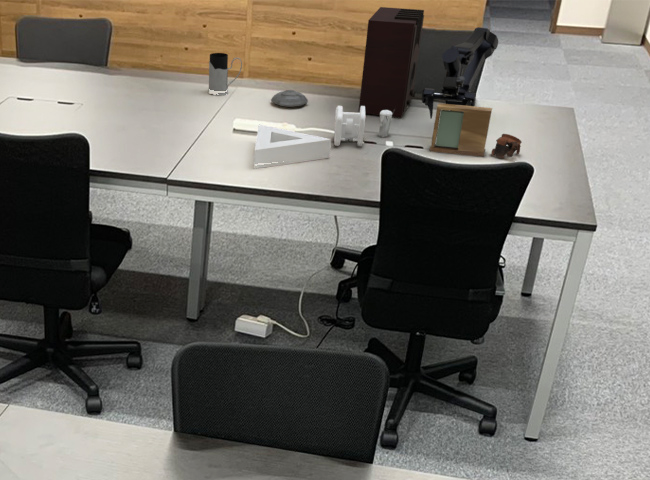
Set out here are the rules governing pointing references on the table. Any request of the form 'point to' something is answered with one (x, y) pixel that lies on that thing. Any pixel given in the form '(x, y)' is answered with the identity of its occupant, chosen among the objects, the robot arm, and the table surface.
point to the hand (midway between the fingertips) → (443, 119)
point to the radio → (391, 60)
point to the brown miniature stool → (503, 149)
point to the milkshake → (385, 122)
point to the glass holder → (219, 72)
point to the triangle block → (288, 147)
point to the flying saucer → (289, 98)
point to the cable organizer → (349, 125)
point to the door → (449, 128)
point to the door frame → (466, 130)
